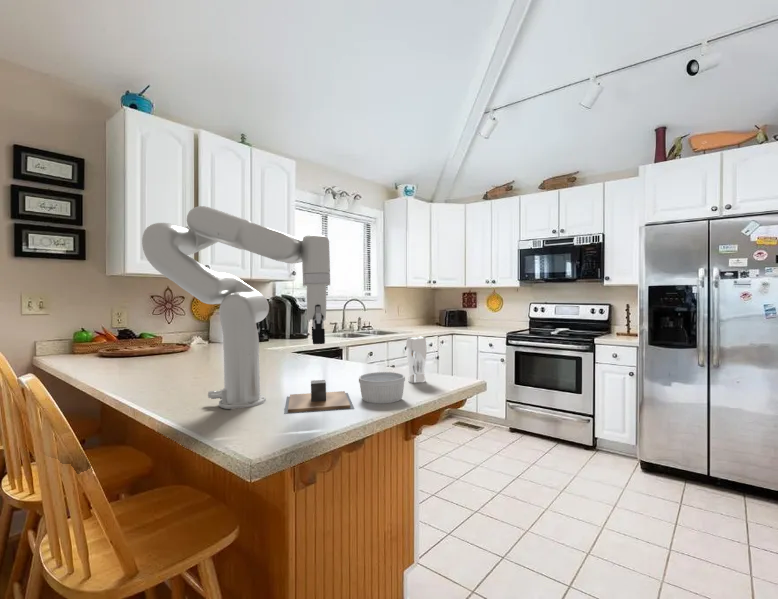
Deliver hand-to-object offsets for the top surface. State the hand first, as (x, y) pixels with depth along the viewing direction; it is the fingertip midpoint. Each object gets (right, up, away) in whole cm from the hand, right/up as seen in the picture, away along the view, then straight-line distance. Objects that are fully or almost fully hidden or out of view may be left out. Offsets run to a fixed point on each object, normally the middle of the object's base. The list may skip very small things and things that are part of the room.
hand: (318, 341), depth 117 cm
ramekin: (+18, -17, +4) cm, 25 cm away
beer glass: (+29, -17, +28) cm, 44 cm away
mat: (0, -17, 0) cm, 17 cm away
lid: (0, -17, 0) cm, 17 cm away
